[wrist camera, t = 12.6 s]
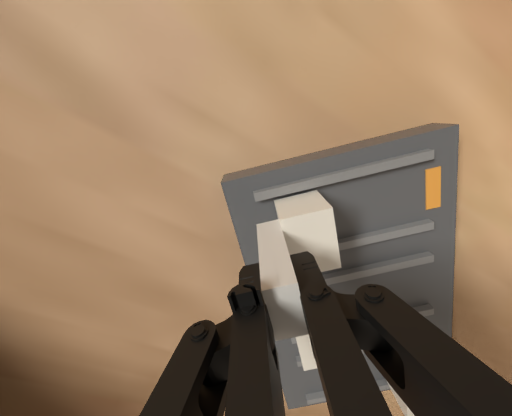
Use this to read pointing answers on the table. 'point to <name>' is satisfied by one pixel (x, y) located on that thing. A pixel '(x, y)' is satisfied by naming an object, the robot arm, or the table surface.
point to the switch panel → (366, 225)
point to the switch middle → (306, 352)
